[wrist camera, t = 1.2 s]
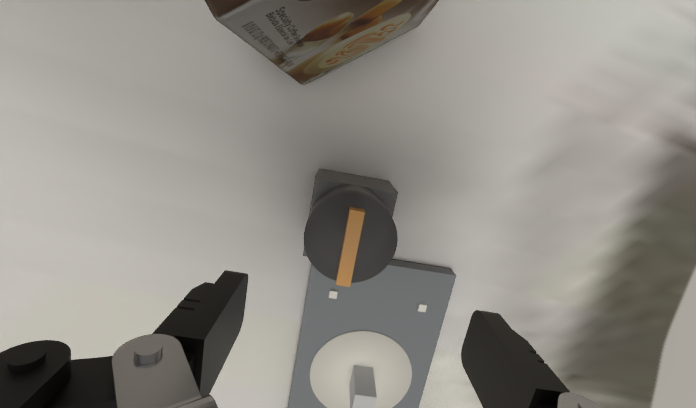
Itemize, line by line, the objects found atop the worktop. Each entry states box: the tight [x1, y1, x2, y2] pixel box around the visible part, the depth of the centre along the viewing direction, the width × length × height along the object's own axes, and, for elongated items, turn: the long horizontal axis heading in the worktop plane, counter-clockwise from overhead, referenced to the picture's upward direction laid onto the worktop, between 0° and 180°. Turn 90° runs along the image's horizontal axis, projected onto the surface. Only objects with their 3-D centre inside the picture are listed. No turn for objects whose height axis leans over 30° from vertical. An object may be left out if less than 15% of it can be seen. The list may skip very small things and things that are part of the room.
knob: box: [303, 169, 398, 287], centre depth 21 cm, size 5×5×7 cm
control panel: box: [288, 259, 456, 408], centre depth 26 cm, size 17×11×4 cm, turn 170°
